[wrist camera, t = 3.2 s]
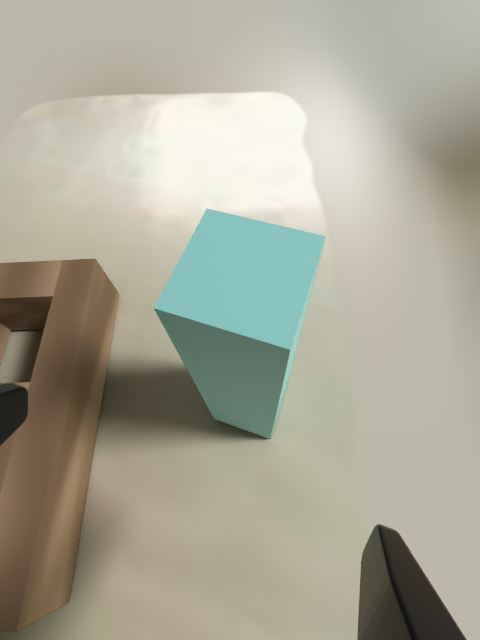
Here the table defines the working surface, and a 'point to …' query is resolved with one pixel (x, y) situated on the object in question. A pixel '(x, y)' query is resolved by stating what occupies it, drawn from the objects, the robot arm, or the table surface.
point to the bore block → (51, 429)
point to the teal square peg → (240, 313)
